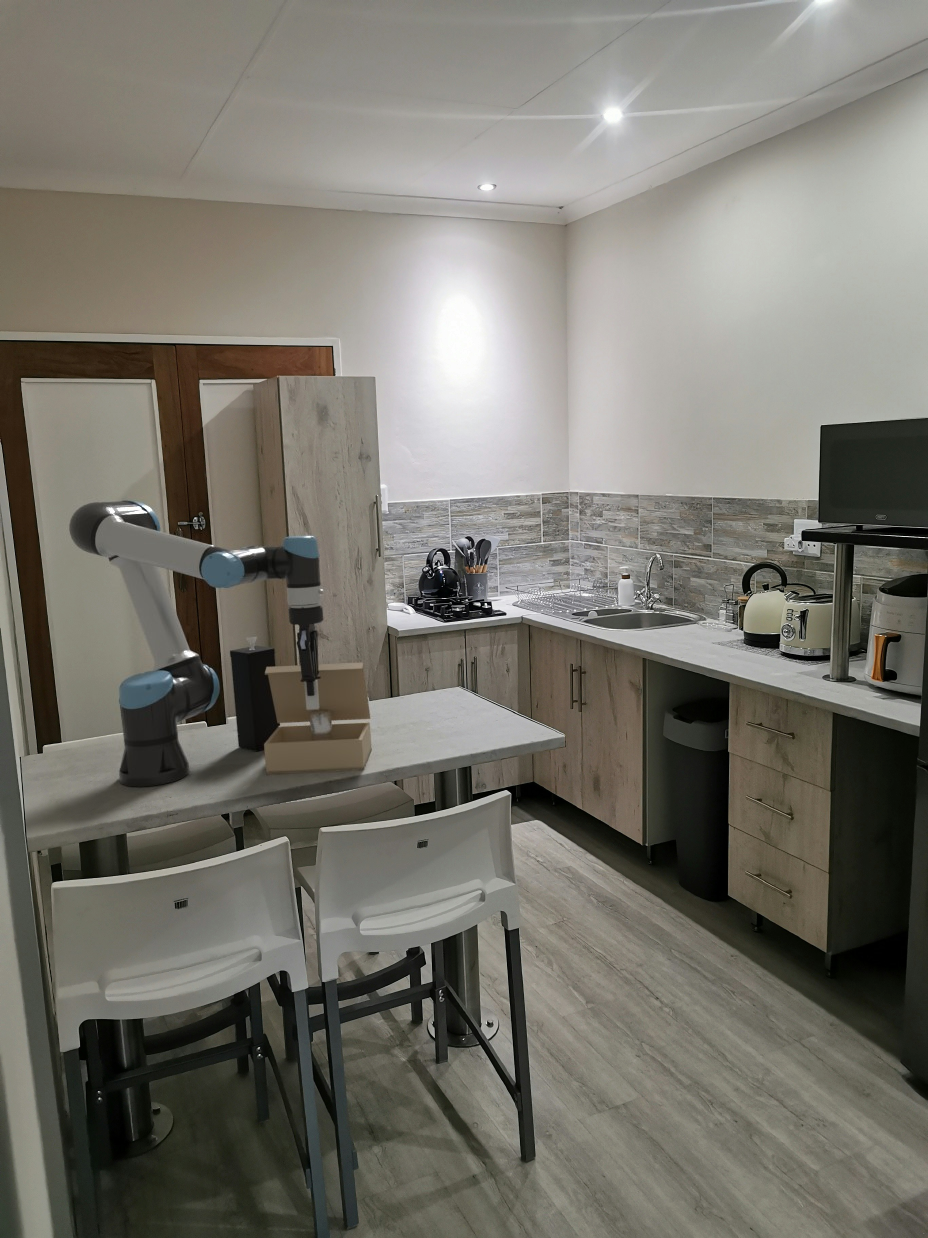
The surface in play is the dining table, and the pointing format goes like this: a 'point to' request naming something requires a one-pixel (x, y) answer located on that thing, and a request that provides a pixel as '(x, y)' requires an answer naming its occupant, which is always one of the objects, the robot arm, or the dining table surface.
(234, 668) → the black pedestal
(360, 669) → the lid
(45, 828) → the dining table surface
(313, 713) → the tin
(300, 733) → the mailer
